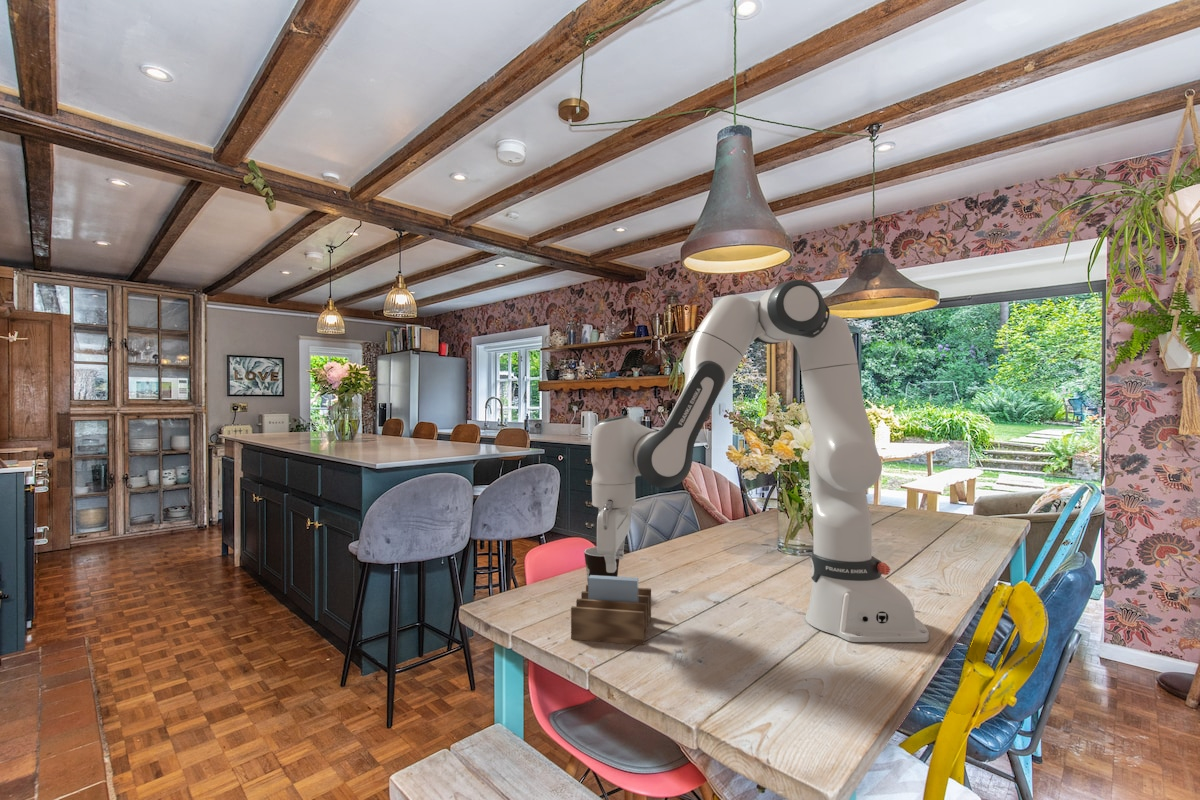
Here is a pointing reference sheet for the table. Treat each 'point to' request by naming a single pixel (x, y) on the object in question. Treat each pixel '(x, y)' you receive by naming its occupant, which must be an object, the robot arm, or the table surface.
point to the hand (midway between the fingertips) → (615, 564)
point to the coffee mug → (597, 563)
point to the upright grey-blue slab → (613, 588)
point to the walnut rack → (611, 619)
